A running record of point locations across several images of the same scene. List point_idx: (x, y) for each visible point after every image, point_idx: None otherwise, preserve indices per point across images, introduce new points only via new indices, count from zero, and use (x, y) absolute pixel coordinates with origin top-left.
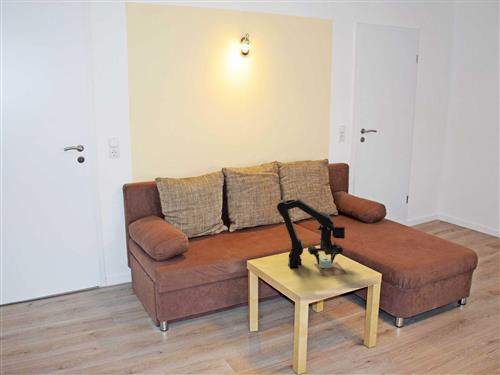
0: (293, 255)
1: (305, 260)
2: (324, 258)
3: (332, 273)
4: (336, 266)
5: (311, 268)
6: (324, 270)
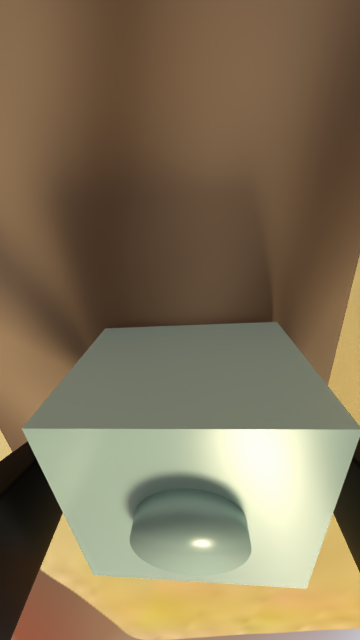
0: None
1: None
2: (203, 554)
3: (123, 6)
4: (28, 368)
5: (354, 396)
6: (253, 233)
